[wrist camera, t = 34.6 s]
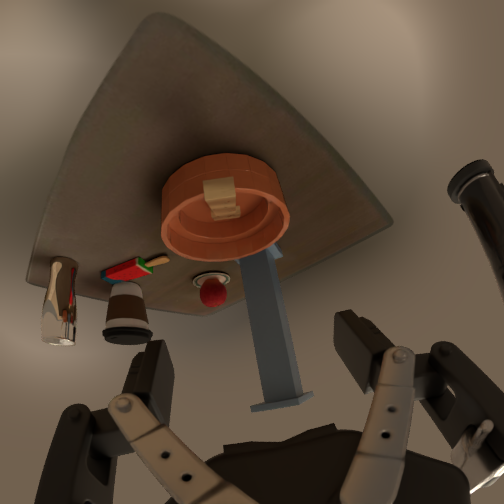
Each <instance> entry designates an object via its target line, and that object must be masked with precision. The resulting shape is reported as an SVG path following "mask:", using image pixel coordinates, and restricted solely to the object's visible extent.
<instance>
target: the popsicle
mask: <svg viewBox="0 0 504 504" xmlns="http://www.w3.org/2000/svg"><path fill="white" fill-rule="evenodd" d="M168 261H169V258H168V257H167V256H161V257H158V258H155V259H153V260H151V261H149V262H146V261H144V260H143V259H141V258H140V257H138V258H135V259H133V260H130V261H127V262H125V263H122V264H120V265H117V266H115V267H112V268H110V269H107V270H105V271H102V272H101V279H103V280H105V281H107V282H109V283H111V284H117V283H121V282H124V281H127V280H131V279H134V278H138V277H141V276H145V275H148V274H151V273H153V266H154V265H159V264H163V263H166V262H168Z"/></svg>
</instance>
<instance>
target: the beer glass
mask: <svg viewBox="0 0 504 504" xmlns="http://www.w3.org/2000/svg"><path fill="white" fill-rule="evenodd" d="M77 271H78V264H77V263H76V262H75V261H74V260H72V259H70V258H67V257H54V258H52V259H51V260H50V278H49V284H48V288H47V292H46V295H45V299H44V303H43V308H42V318H41V331H42V341H44V342H46V343H48V344H52V345H58V346H74V345H75V344H76V332H77V308H76V307H77V306H76V297H75V279H76V275H77Z"/></svg>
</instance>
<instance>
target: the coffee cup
mask: <svg viewBox="0 0 504 504" xmlns="http://www.w3.org/2000/svg"><path fill="white" fill-rule="evenodd" d="M102 332H103V336H104V337H105V340H106V341H107V342H110V343H114V344H121V345H138V344H144V343H147V342H148V341H150V340H151V337H152V336H153V333H152V332H151V331H150V330H149V327H148V319H147V314H146V309H145V304H144V300H143V297H142V292H141V289H140V287H139V285H138V284H136V283H133V282H121V283H117V284H114V286H113V287H112V291H111V297H110V298H109V304H108V310H107V317H106V329H105V330H103V331H102Z"/></svg>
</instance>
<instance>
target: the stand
mask: <svg viewBox="0 0 504 504" xmlns="http://www.w3.org/2000/svg"><path fill="white" fill-rule="evenodd" d="M280 257H283V255H282V250H281V249H280V247H279V246H278V244H277V243H276V242H275V243H274V244H272V245H271V246H270V247H268V248H266V249H264V250H262V251H260V252H258V253H256V254H253V255H250V256H247V257H243V258H240V259H235V261H236V262H237V263H238V264H239V265H240V268H241V274H242V279H243V285H244V291H245V297H246V302H247V308H248V313H249V319H250V325H251V330H252V336H253V341H254V347H255V353H256V358H257V363H258V369H259V374H260V379H261V385H262V390H263V396H264V400H265V402H262V403H259V404H256V405H252V406H250V408H251V412H258V411H265V410H272V409H277V408H284V407H290V406H295V405H299V404H301V403H303V402H304V401H306V400H308V399H310V398H311V397H313V396H314V395H313V391H310V392H306V393H303V390H302V385H301V380H300V375H299V371H298V366H297V361H296V356H295V352H294V347H293V342H292V338H291V333H290V329H289V324H288V319H287V315H286V310H285V306H284V301H283V297H282V292H281V288H280V283H279V279H278V274H277V270H276V266H275V261H274V259H277V258H280Z"/></svg>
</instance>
